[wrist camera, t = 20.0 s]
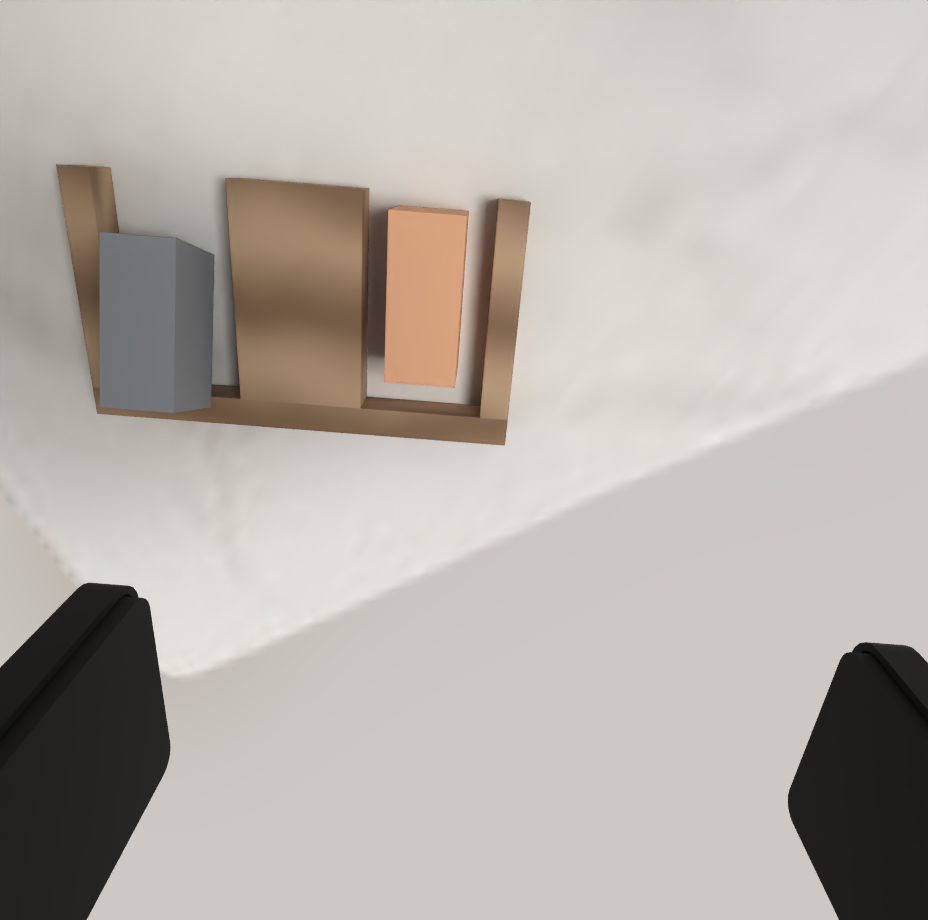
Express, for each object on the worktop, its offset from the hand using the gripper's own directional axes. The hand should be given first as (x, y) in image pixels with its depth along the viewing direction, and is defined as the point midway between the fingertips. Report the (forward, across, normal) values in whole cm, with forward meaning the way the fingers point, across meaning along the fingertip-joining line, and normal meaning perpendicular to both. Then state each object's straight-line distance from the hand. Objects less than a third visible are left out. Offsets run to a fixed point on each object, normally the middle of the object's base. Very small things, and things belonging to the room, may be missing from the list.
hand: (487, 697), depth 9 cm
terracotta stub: (+28, +3, -1) cm, 29 cm away
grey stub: (+27, +16, +2) cm, 32 cm away
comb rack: (+28, +10, 0) cm, 30 cm away
